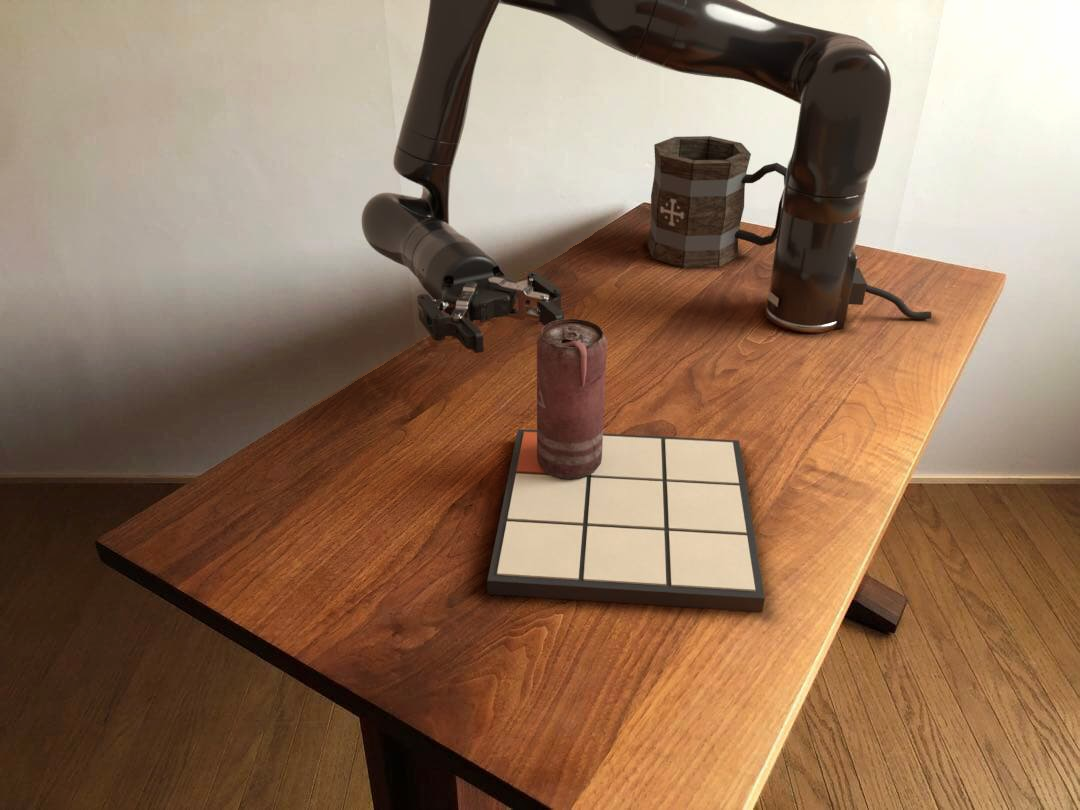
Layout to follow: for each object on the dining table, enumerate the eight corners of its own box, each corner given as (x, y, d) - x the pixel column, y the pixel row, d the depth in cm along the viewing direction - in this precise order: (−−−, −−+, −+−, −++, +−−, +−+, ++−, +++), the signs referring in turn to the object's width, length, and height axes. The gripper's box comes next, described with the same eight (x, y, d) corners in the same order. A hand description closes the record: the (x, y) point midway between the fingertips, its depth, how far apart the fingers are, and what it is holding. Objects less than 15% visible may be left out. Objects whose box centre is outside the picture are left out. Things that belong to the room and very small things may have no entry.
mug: (636, 261, 131) (642, 158, 123) (657, 228, 142) (664, 131, 134) (775, 280, 126) (791, 173, 118) (785, 244, 136) (801, 144, 128)
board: (737, 452, 91) (739, 438, 90) (762, 612, 72) (765, 596, 71) (518, 441, 93) (517, 427, 92) (487, 594, 74) (487, 578, 73)
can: (557, 490, 83) (558, 355, 75) (526, 454, 88) (525, 324, 80) (614, 472, 85) (622, 340, 78) (582, 438, 90) (585, 310, 82)
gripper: (392, 252, 96) (450, 314, 84) (514, 230, 101) (585, 285, 89) (397, 316, 100) (454, 385, 88) (515, 291, 105) (583, 352, 93)
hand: (520, 334), depth 88 cm, fingers open, 8 cm apart
